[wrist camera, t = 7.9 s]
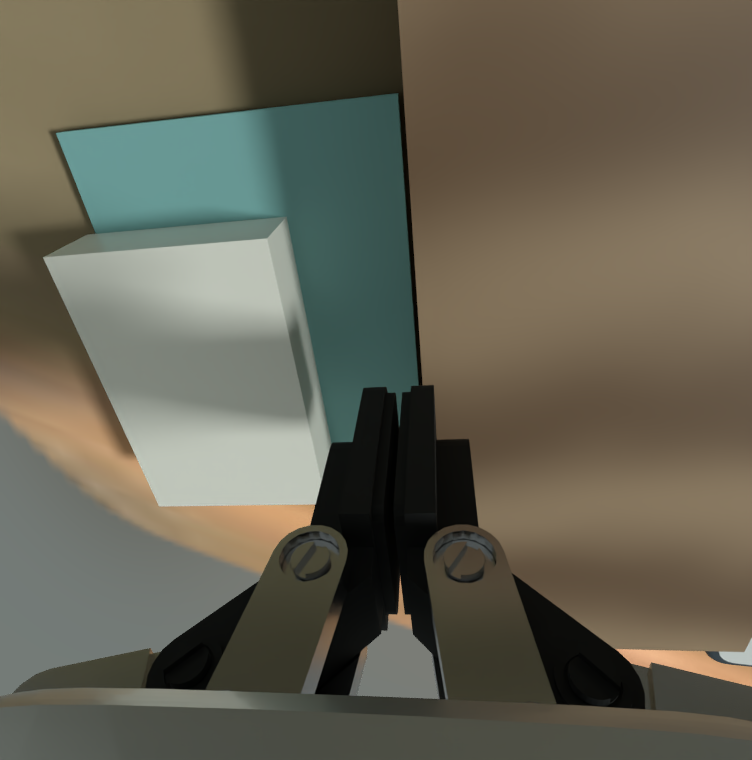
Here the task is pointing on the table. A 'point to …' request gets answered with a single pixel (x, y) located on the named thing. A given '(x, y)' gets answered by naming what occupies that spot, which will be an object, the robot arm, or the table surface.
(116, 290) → the white box
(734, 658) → the smartphone
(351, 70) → the table surface
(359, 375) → the mat
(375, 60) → the table surface
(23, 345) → the table surface
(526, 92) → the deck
